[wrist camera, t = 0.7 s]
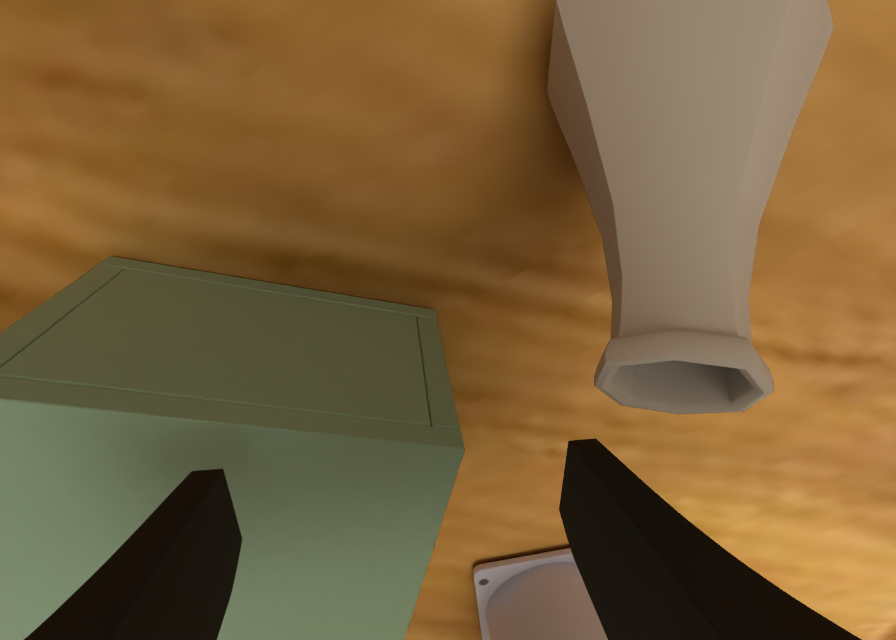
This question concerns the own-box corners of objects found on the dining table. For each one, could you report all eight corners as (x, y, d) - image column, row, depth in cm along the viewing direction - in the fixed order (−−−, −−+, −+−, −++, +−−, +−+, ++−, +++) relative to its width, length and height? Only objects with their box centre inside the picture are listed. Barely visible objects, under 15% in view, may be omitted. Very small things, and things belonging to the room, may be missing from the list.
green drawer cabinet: (380, 532, 25) (378, 721, 18) (124, 515, 22) (4, 725, 15) (435, 309, 20) (466, 449, 12) (110, 255, 17) (-85, 390, 10)
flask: (571, 167, 19) (542, 430, 14) (513, -32, 13) (438, 305, 9) (807, 130, 15) (862, 454, 11) (871, -157, 10) (1037, 282, 5)
